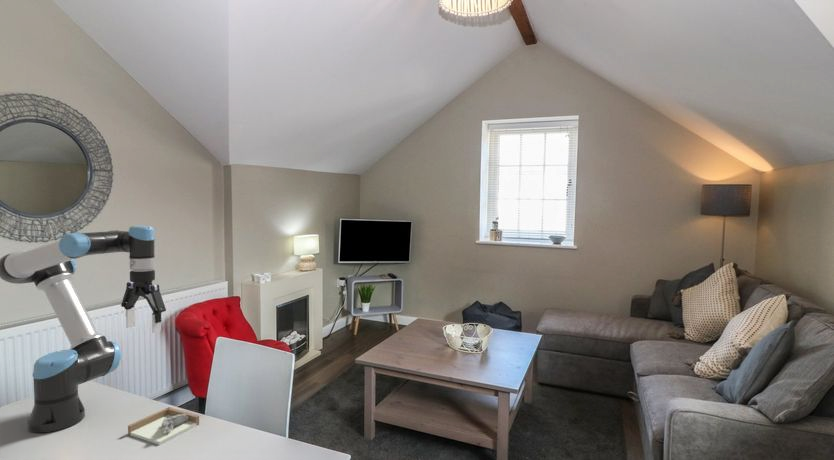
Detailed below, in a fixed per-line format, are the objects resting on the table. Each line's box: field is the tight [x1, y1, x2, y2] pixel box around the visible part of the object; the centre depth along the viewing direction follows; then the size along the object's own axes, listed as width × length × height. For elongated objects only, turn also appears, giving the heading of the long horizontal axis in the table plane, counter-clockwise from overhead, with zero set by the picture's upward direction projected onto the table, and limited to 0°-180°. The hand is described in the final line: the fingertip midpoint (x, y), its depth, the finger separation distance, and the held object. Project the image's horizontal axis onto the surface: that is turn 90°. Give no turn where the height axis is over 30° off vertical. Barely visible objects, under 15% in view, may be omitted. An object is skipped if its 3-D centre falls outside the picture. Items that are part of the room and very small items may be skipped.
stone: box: [159, 414, 189, 433], centre depth 147 cm, size 6×12×4 cm, turn 167°
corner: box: [127, 407, 200, 446], centre depth 148 cm, size 15×15×3 cm
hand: (143, 329), depth 155 cm, fingers open, 13 cm apart
